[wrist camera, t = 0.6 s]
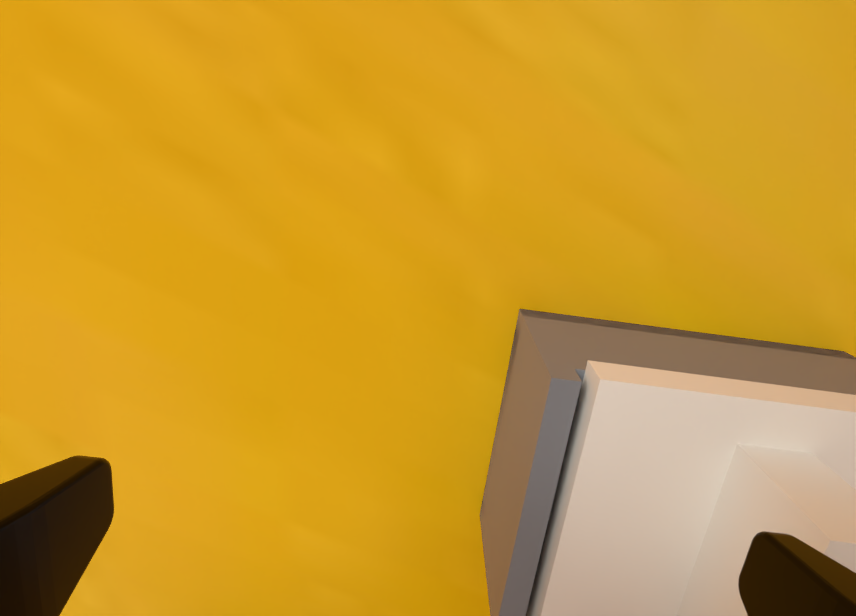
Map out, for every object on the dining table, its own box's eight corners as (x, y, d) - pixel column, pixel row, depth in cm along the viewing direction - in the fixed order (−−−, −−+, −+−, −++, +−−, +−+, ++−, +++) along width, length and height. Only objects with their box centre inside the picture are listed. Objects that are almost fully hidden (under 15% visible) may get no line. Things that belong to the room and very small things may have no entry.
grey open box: (765, 550, 22) (871, 685, 17) (479, 514, 22) (493, 640, 17) (843, 351, 20) (1000, 436, 14) (519, 308, 19) (551, 378, 14)
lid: (816, 664, 18) (943, 842, 13) (522, 629, 18) (551, 798, 13) (938, 406, 15) (1153, 522, 10) (587, 360, 15) (652, 459, 10)
